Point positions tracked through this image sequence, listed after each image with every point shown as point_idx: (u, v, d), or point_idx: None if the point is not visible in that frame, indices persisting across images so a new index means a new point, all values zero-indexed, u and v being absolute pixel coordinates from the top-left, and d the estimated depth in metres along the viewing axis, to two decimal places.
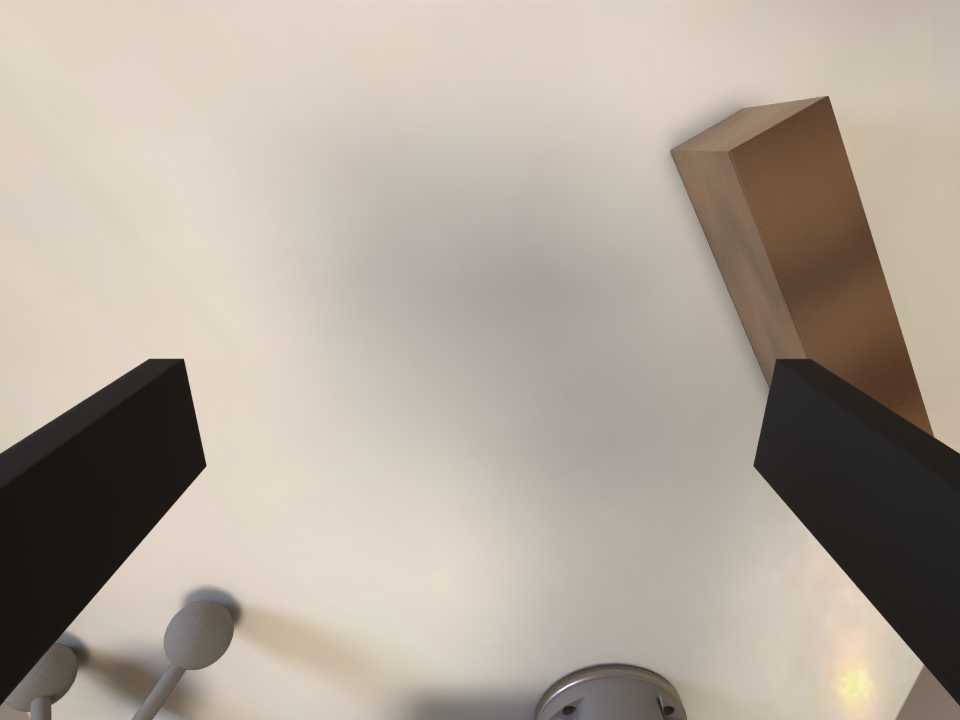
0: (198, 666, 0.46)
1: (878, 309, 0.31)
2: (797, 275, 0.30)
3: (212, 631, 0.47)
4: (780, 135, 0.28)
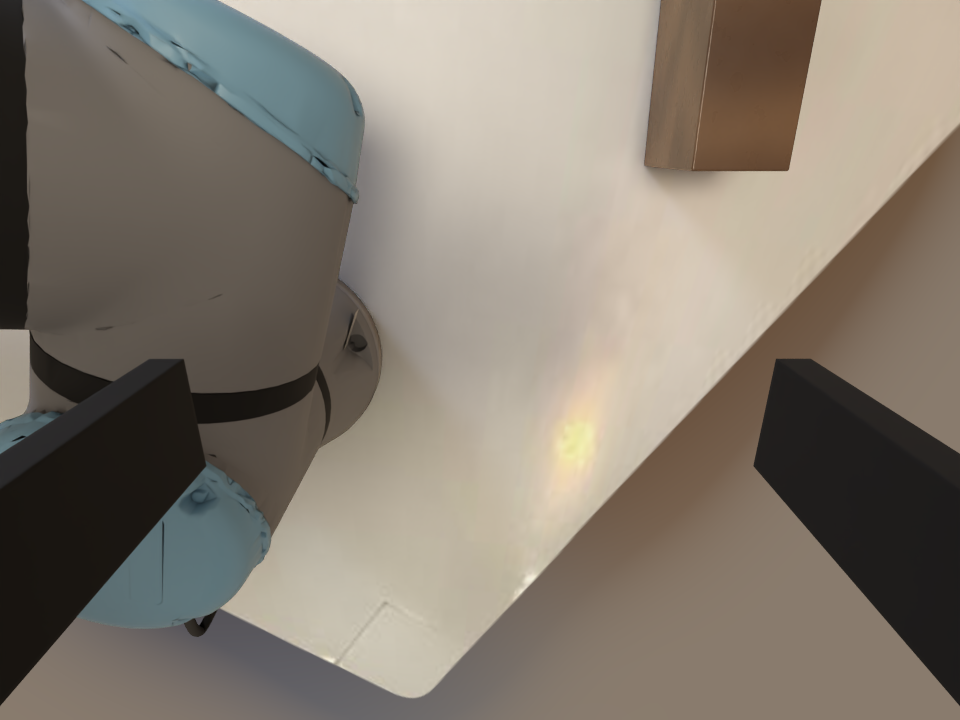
0: None
1: None
2: None
3: None
4: None
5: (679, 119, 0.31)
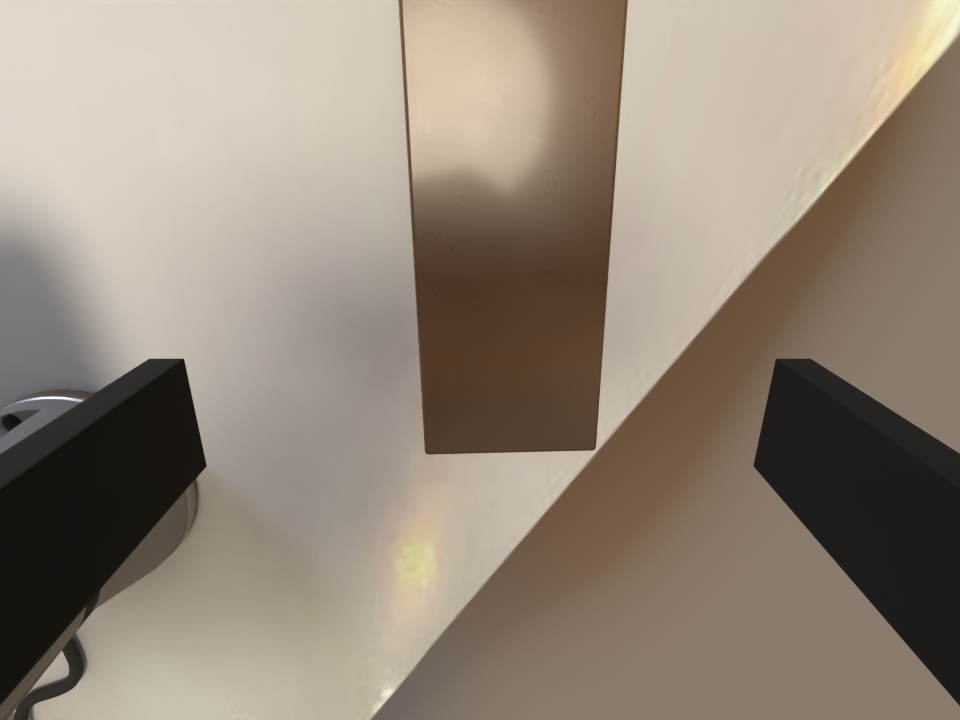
0: None
1: None
2: None
3: None
4: None
5: None
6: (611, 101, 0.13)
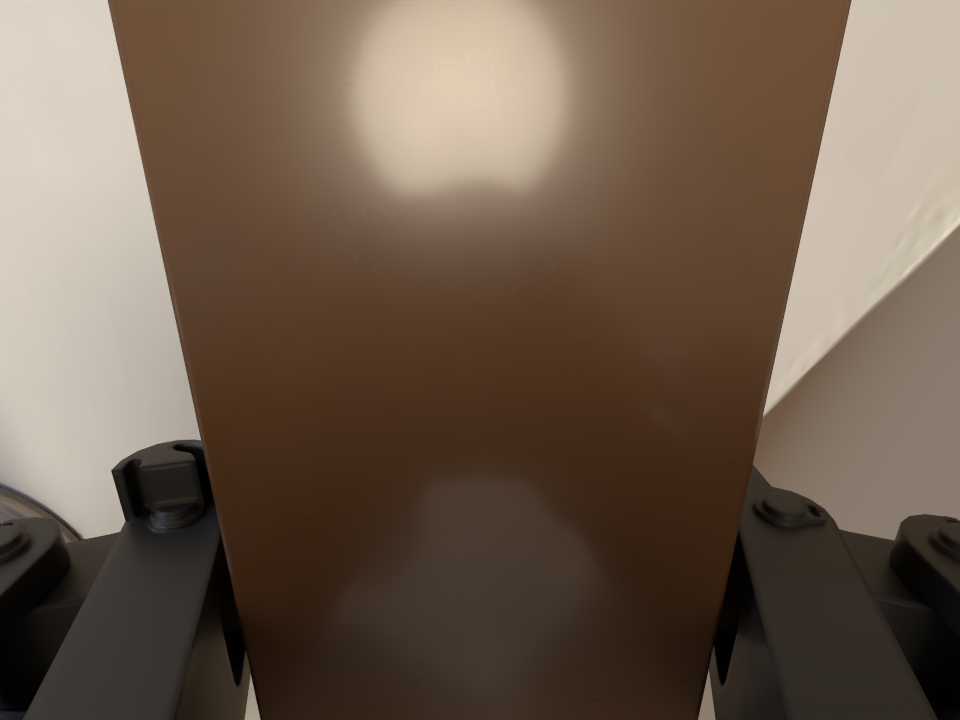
0: None
1: None
2: None
3: None
4: None
5: None
6: (793, 149, 0.04)
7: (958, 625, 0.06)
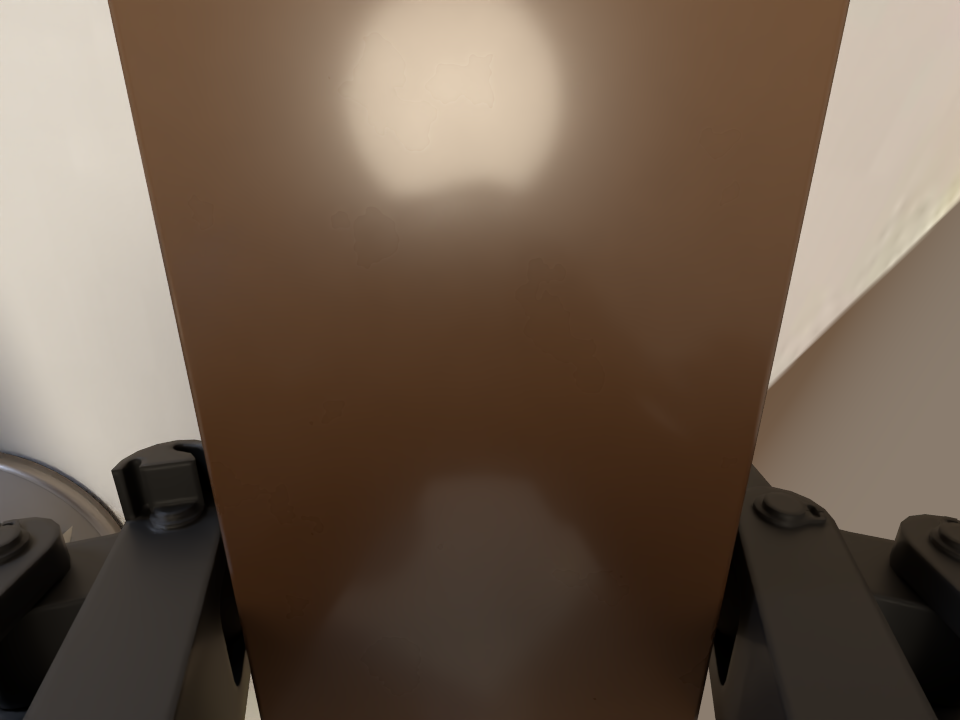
0: None
1: None
2: None
3: None
4: None
5: None
6: (791, 148, 0.04)
7: (959, 625, 0.06)
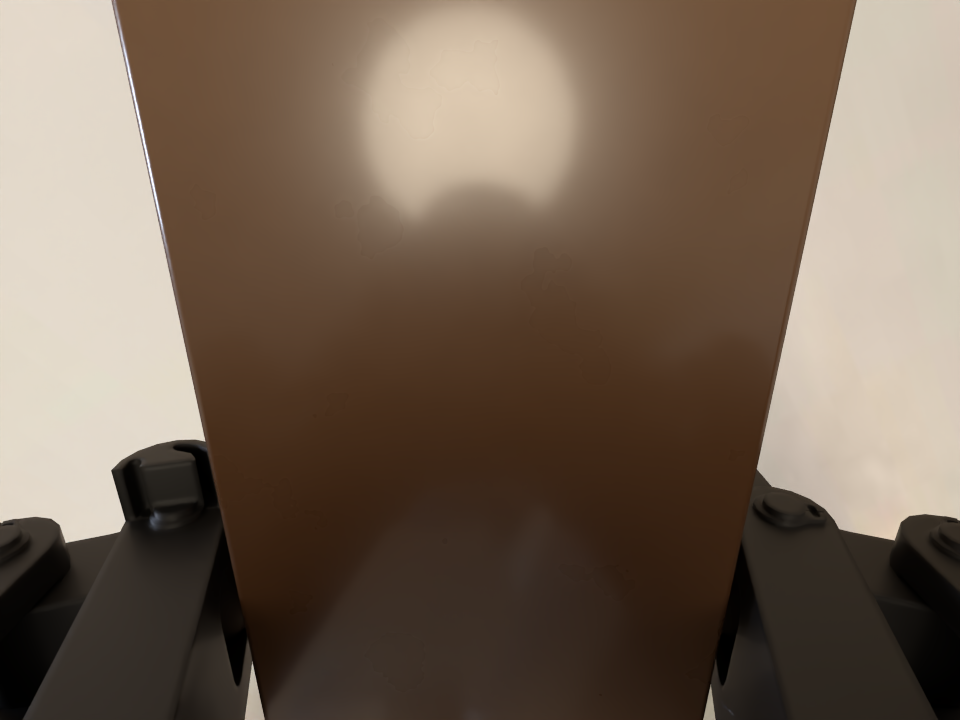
0: None
1: None
2: None
3: None
4: None
5: None
6: (800, 135, 0.04)
7: (958, 625, 0.06)
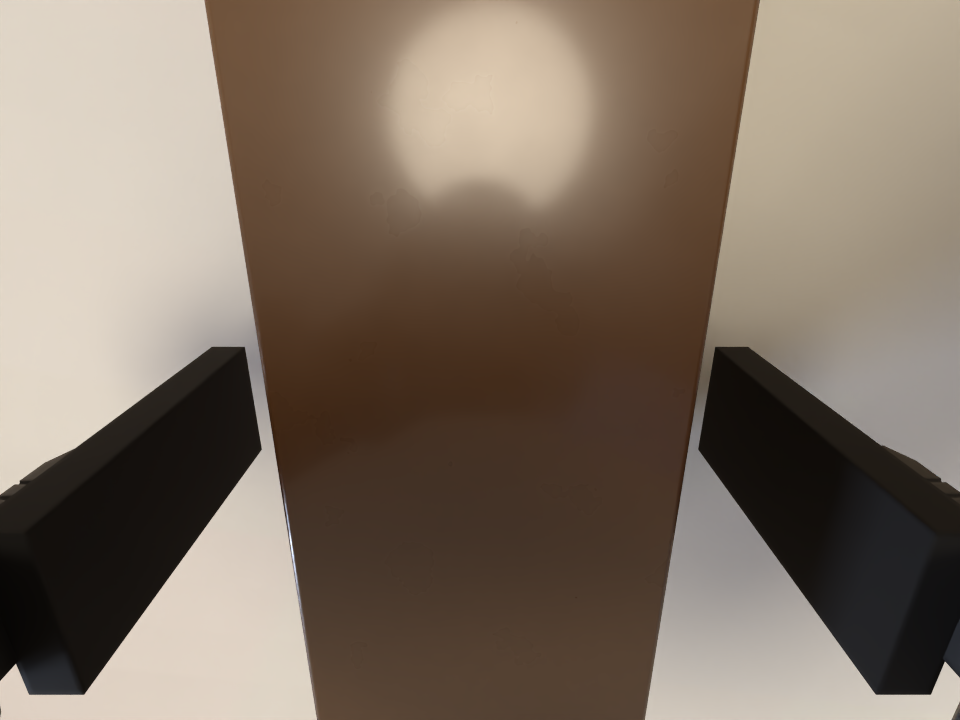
0: None
1: None
2: None
3: None
4: None
5: None
6: (716, 144, 0.06)
7: None
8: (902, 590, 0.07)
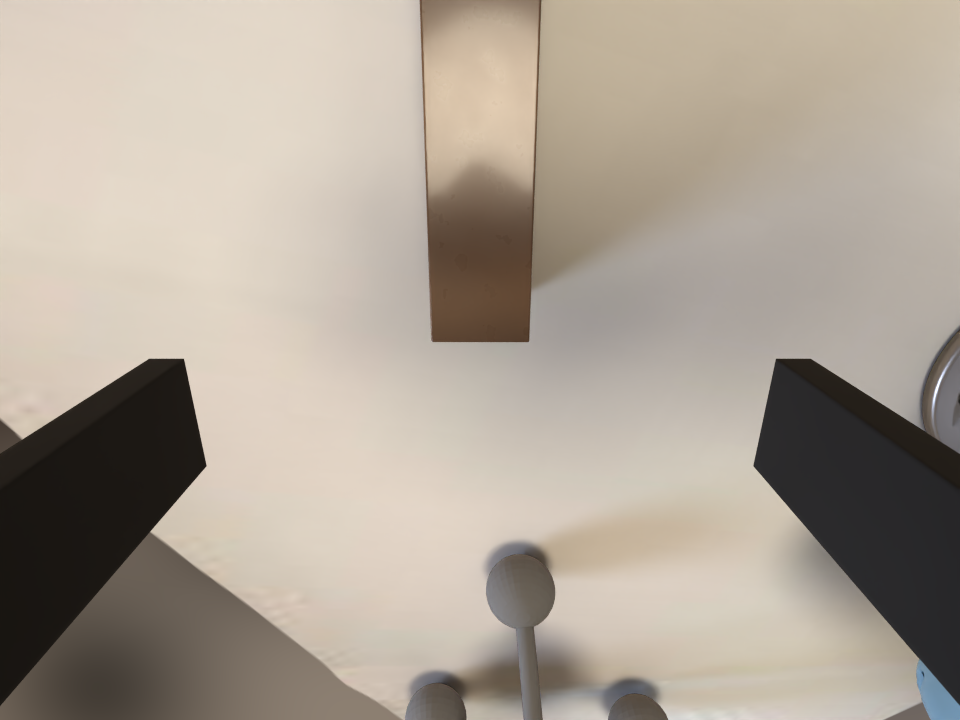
0: (539, 615, 0.41)
1: None
2: None
3: (525, 576, 0.41)
4: None
5: None
6: (531, 147, 0.26)
7: None
8: None
